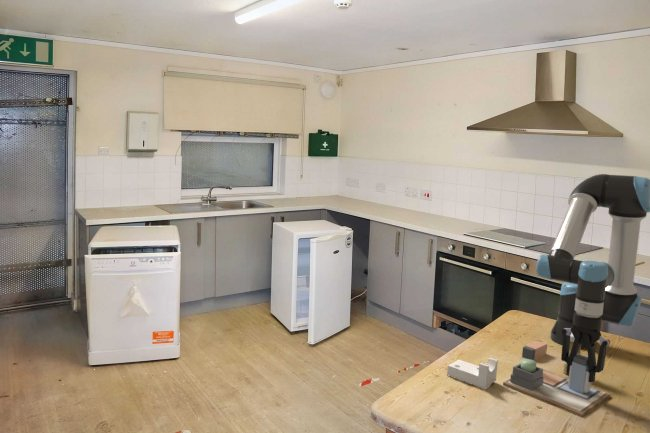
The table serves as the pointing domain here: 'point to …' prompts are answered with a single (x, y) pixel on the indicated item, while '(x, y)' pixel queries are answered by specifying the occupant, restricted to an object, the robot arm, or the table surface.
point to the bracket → (474, 372)
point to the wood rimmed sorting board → (563, 394)
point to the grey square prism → (578, 373)
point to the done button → (528, 365)
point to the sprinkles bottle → (570, 351)
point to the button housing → (527, 378)
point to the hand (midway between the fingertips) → (578, 388)
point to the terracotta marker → (534, 350)
